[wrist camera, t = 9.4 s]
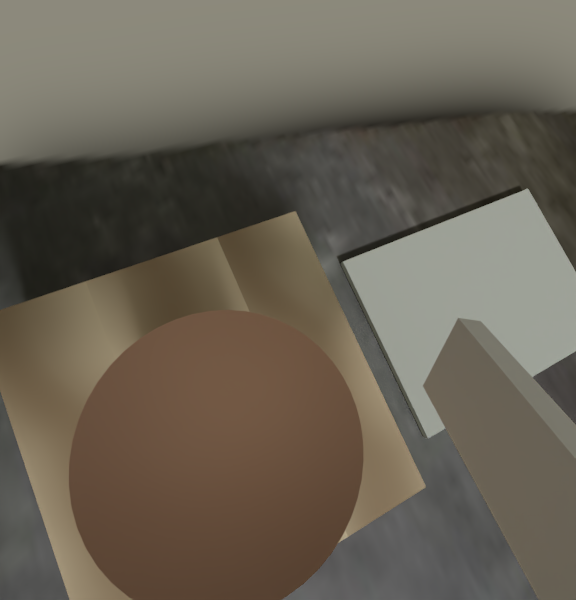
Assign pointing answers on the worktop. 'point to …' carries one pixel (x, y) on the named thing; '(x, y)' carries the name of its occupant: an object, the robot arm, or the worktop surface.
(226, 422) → the peg
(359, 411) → the hole block
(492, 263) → the mat
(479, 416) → the robot arm
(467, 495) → the worktop surface
